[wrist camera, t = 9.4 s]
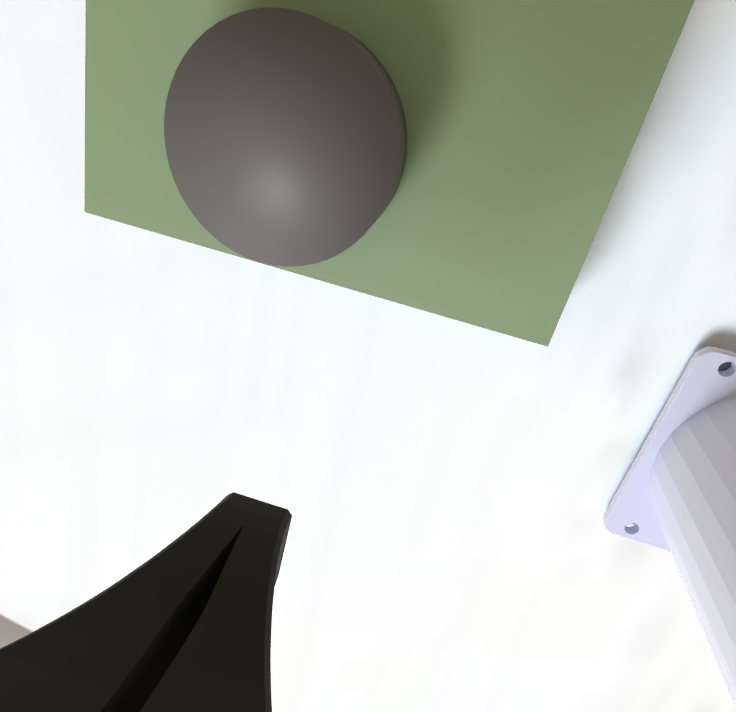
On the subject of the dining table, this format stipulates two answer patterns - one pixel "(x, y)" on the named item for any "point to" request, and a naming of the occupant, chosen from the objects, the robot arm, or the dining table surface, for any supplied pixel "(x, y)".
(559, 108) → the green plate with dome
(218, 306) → the dining table surface
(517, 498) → the dining table surface
